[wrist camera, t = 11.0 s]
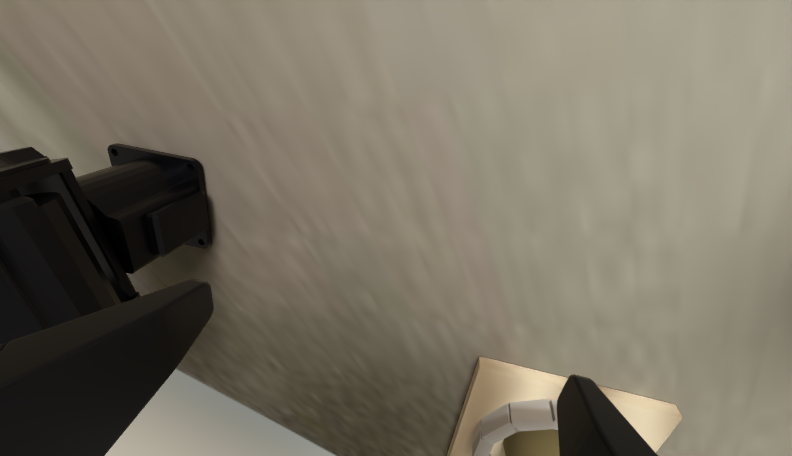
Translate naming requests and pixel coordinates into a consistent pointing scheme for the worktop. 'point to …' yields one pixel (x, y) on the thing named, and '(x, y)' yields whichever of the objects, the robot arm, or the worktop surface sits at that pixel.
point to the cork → (532, 443)
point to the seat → (538, 409)
